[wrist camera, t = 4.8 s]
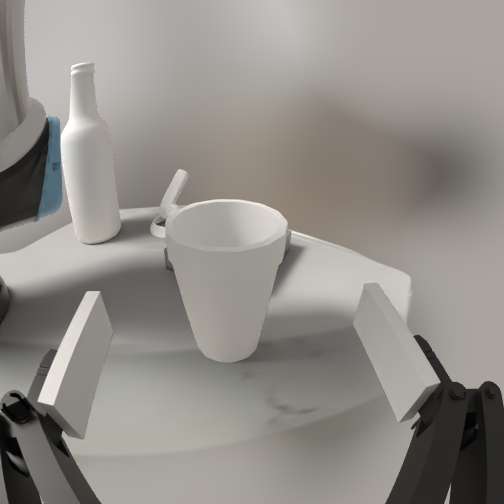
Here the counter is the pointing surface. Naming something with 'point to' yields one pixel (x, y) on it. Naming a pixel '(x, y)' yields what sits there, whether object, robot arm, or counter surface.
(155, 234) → the hook
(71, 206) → the alcohol
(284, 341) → the counter surface
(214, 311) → the foam cup
